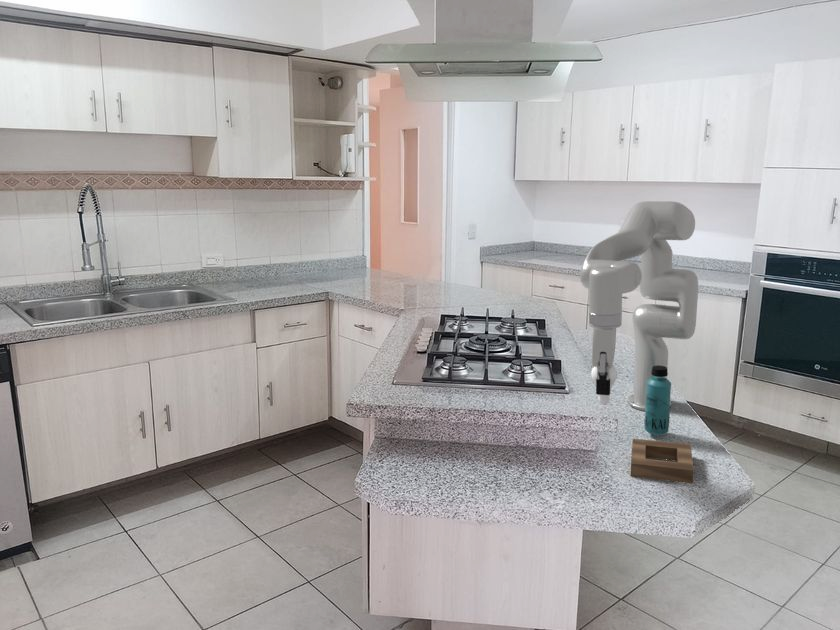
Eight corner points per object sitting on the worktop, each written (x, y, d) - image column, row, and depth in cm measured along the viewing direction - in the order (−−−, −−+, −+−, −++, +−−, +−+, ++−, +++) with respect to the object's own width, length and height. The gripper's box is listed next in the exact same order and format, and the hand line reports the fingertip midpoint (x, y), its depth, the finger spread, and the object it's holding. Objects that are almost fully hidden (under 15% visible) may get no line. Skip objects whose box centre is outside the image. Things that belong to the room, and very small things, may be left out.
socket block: (632, 450, 168) (632, 438, 167) (689, 456, 163) (690, 444, 162) (630, 476, 155) (630, 463, 154) (692, 483, 150) (693, 470, 149)
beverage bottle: (648, 428, 180) (651, 361, 175) (672, 433, 176) (676, 365, 171) (640, 436, 175) (642, 368, 170) (664, 442, 171) (667, 372, 166)
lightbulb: (619, 401, 158) (620, 359, 155) (613, 410, 153) (613, 367, 150) (594, 397, 161) (595, 356, 158) (587, 406, 156) (588, 364, 153)
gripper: (592, 308, 160) (591, 376, 165) (585, 328, 145) (584, 401, 149) (623, 309, 158) (621, 377, 162) (619, 329, 142) (618, 404, 147)
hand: (604, 388), depth 156 cm, fingers closed on lightbulb, 5 cm apart
